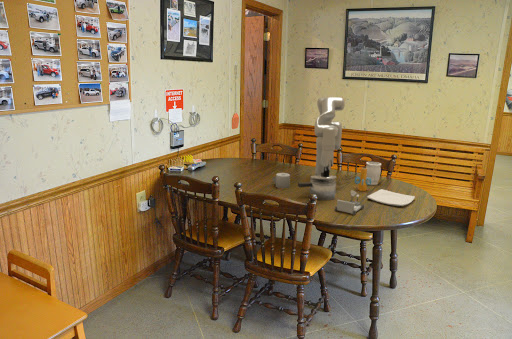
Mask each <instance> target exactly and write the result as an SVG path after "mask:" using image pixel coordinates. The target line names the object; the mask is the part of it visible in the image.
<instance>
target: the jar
mask: <svg viewBox="0 0 512 339" xmlns="http://www.w3.org/2000/svg"><path fill="white" fill-rule="evenodd" d="M365 164H366V166H365V168H367V177H366V178H368V177H370V178H371V184H370V183H368V184H370V185H369V186H377V185H378V184H379V183H378V182H379V180H380V176H381V174H382V173H381V172H382V171H381V170H382V169H381V166H382V163H381V162H378V161H366V163H365ZM368 179H369V178H368ZM369 181H370V180H367V182H369Z"/></svg>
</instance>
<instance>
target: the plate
mask: <svg viewBox="0 0 512 339" xmlns="http://www.w3.org/2000/svg"><path fill="white" fill-rule="evenodd" d="M366 197H367V198H368V199H369V200H372V201H374V202H377V203H380V204H383V205H388V206H395V207H404V206H407V205H410V204H411V203H412V202H413V201H414V199H416V196H415V195H410V194H408V195H407V194H404V193H397V192H394V191H390V190H386V189H383V188H381V189H378V190H376V191H374V192H372V193H371V194H369V195H367V196H366Z"/></svg>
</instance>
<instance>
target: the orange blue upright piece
mask: <svg viewBox="0 0 512 339" xmlns="http://www.w3.org/2000/svg"><path fill="white" fill-rule="evenodd" d="M366 177H367V168H366V167H361V168H360V175H359V176H355V177H354V183H355V184H356V185H357V191H360V192H366V191H368V190H367V189H368V186H371V185H370V184H371V178H370V177H368V178H369V179H368V178H366ZM367 180H370V181H369V182H367ZM368 183H370V184H368Z"/></svg>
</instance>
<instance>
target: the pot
mask: <svg viewBox="0 0 512 339" xmlns="http://www.w3.org/2000/svg"><path fill="white" fill-rule="evenodd" d="M297 186H298V188H308V187H309V195H310V194H316V195H317V197H318V199H317V200H319V201H331V200H334V199H335V198H336V189H337V188H336V187H337V180H336V179H311V178H310V181H309V182H307V181H305V182H303V181H302V182H301V181H300V182H297Z"/></svg>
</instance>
